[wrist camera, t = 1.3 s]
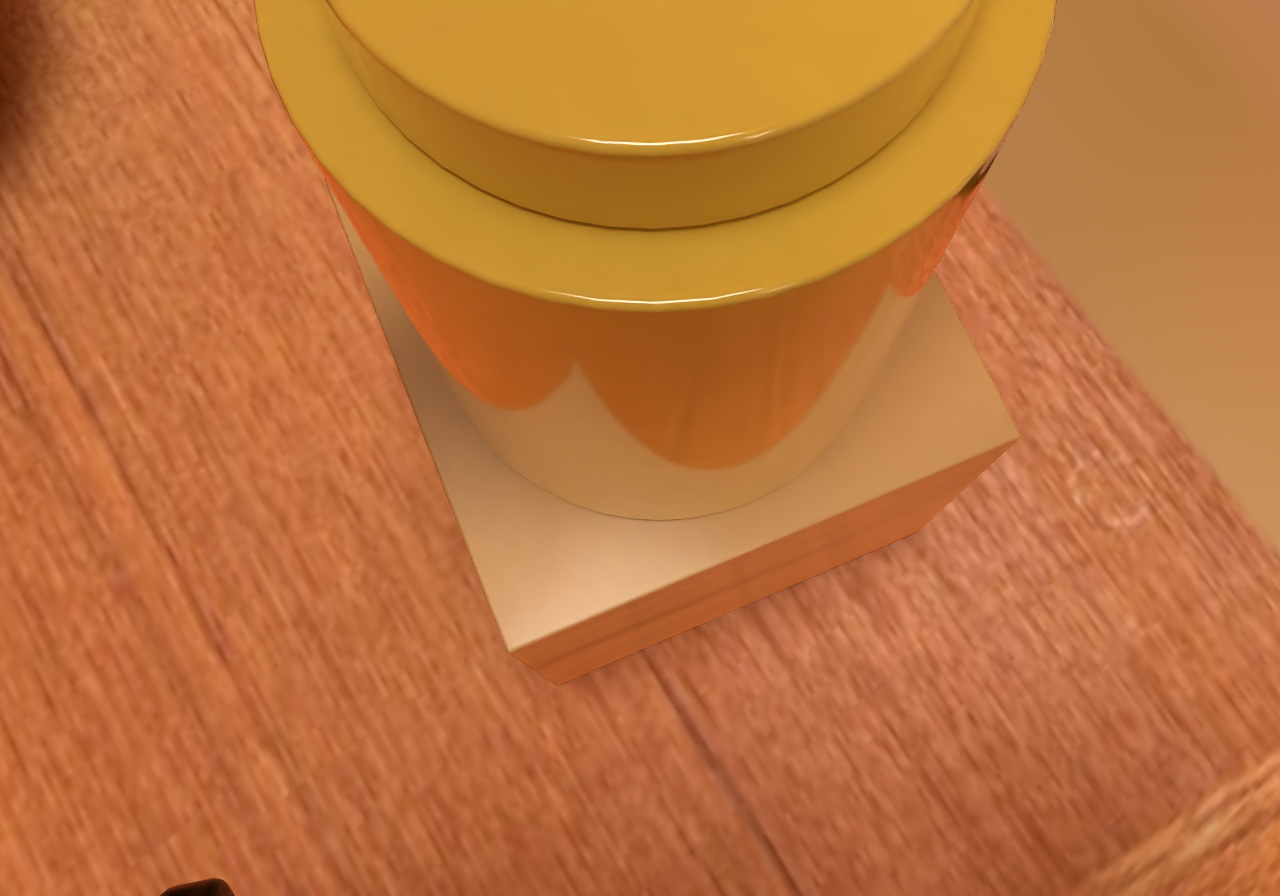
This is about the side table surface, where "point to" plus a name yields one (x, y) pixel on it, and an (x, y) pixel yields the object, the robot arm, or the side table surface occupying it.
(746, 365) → the jar
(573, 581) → the cube
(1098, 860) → the side table surface
